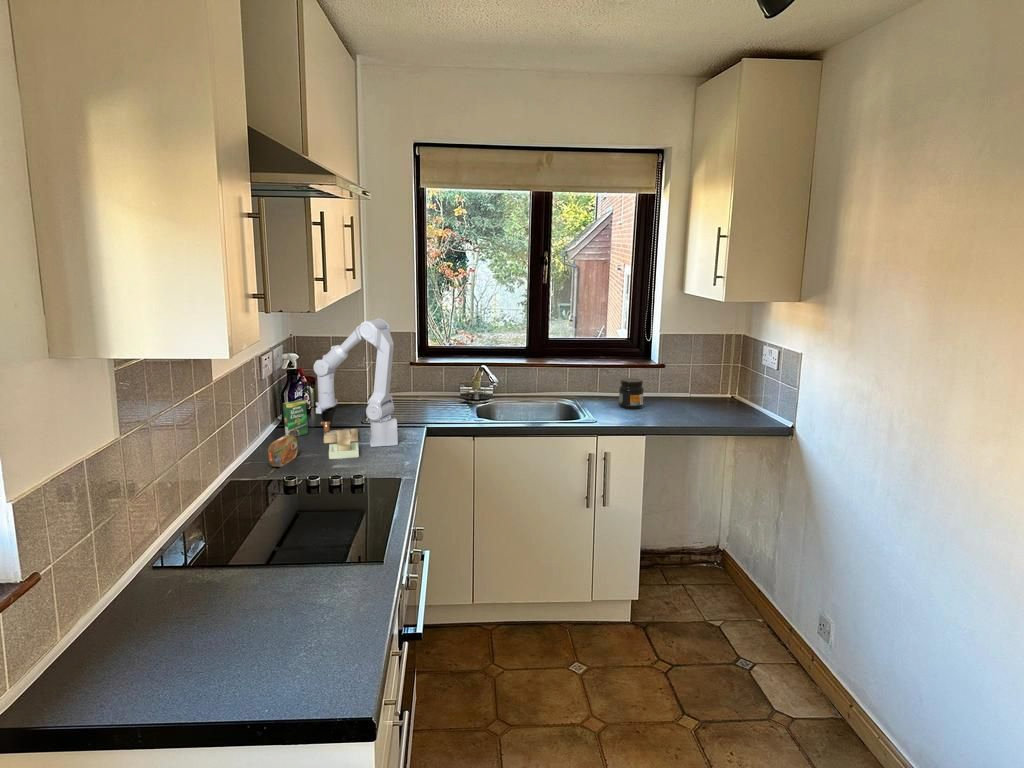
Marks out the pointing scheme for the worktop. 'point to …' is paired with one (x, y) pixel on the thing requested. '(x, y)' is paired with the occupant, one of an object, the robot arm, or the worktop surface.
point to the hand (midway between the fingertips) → (327, 427)
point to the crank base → (334, 437)
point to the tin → (283, 450)
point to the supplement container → (631, 393)
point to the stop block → (343, 440)
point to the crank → (326, 430)
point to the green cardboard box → (295, 418)
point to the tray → (343, 454)
